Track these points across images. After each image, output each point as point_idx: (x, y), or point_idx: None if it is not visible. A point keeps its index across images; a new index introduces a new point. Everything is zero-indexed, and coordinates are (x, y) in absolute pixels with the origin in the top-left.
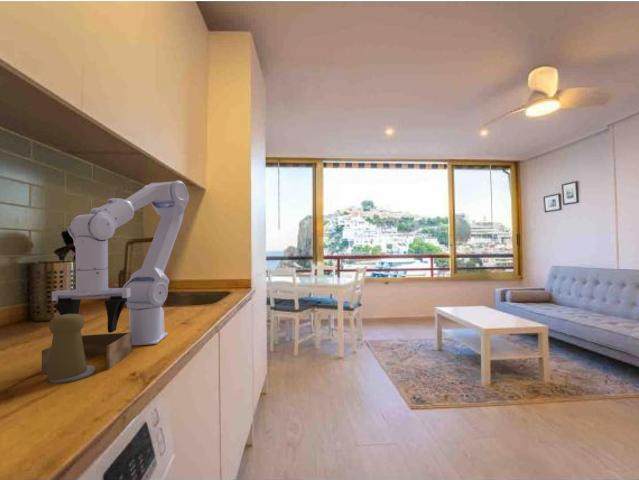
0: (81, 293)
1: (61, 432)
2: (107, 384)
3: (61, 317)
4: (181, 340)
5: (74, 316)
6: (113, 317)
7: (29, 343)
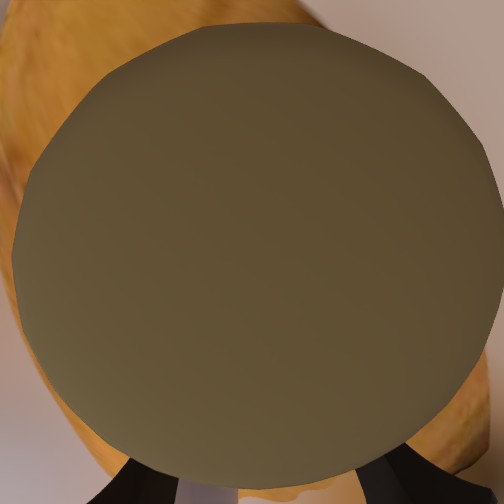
0: None
1: None
2: (58, 114)
3: (299, 120)
4: (101, 439)
5: (22, 289)
6: (113, 478)
7: (462, 419)
